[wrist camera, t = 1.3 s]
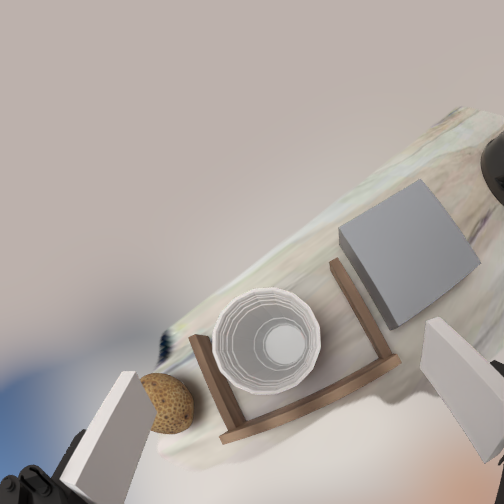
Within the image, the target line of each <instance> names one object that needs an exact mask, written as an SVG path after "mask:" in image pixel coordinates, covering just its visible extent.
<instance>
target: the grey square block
mask: <svg viewBox="0 0 504 504" xmlns="http://www.w3.org/2000/svg"><path fill="white" fill-rule="evenodd" d="M339 245H340V247H341V248H342V250H343V251H344V253H345V255H346V256H347V258H348V259H349V261H350V263H351V264H352V266H353V267H354V269H355V271H356V272H357V274H358V276H359V277H360V279H361V281H362V282H363V284H364V286H365V287H366V289H367V291H368V292H369V294H370V296H371V298H372V299H373V301H374V303H375V304H376V306H377V308H378V310H379V312H380V313H381V315H382V317H383V319H384V320H385V322H386V324H387V326H388V328H389V330H392V329H394V328H396V327H399V326H400V325H402V324H403V323H405V322H406V321H408V320H409V319H411V318H412V317H414V316H415V315H416V314H418V313H419V312H421V311H422V310H423V309H425V308H426V307H428V306H429V305H430V304H432V303H433V302H434V301H436V300H437V299H438V298H440V297H441V296H442V295H444V294H445V293H446V292H447V291H449V290H450V289H451V288H452V287H454V286H455V285H456V284H457V283H459V282H460V281H461V280H462V279H463V278H465V277H466V276H467V275H468V274H469V273H471V272H472V271H473V270H474V269H475V268H476V267H477V266H479V265H480V264H481V262H480V260H479V259H478V257H477V255H476V254H475V252H474V250H473V249H472V247H471V246H470V244H469V243H468V241H467V240H466V238H465V237H464V235H463V234H462V232H461V231H460V229H459V228H458V226H457V225H456V224H455V222H454V221H453V219H452V218H451V217H450V215H449V214H448V213H447V211H446V210H445V208H444V207H443V206H442V205H441V203H440V202H439V201H438V199H437V198H436V197H435V196H434V194H433V193H432V192H431V191H430V189H429V188H428V187H427V186H426V185H425V183H424V182H423V181H422V180H421V179H419V180H417V181H416V182H414V183H413V184H411V185H409V186H408V187H406V188H404V189H403V190H401V191H399V192H398V193H396V194H394V195H393V196H391V197H389V198H388V199H386V200H384V201H383V202H381V203H379V204H378V205H376V206H374V207H373V208H371V209H369V210H368V211H366V212H364V213H362V214H361V215H359V216H357V217H356V218H354V219H352V220H351V221H349V222H347V223H345V224H344V225H342V226H340V227H339Z"/></svg>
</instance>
